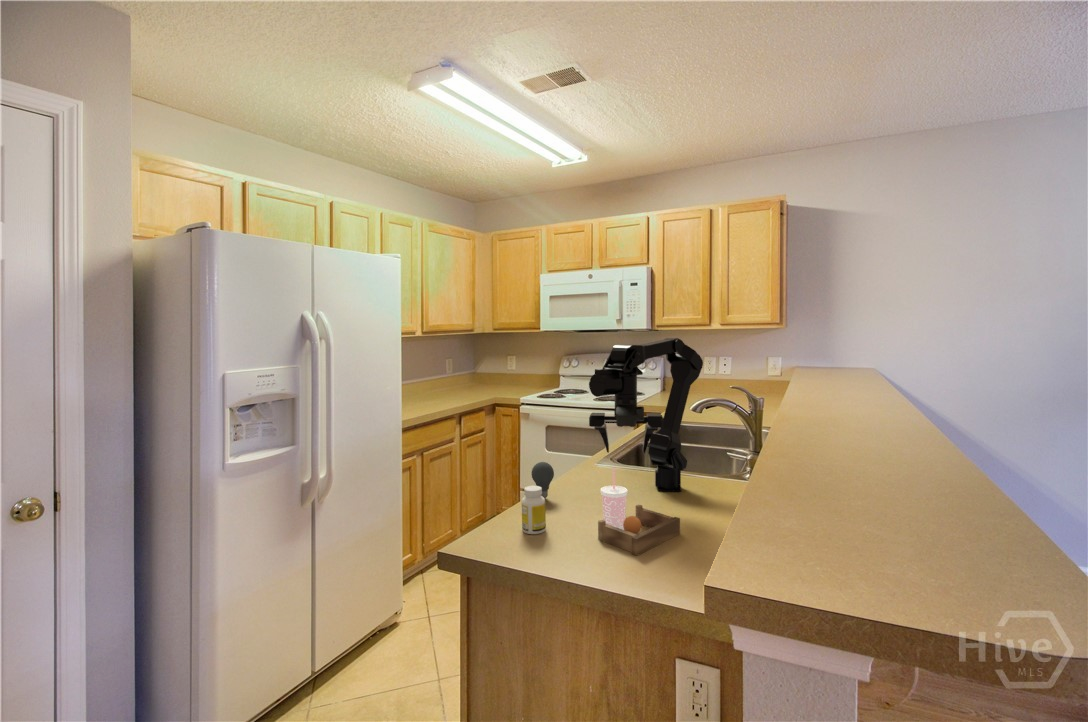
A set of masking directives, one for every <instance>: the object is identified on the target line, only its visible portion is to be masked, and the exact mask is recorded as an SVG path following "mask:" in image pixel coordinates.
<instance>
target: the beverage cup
mask: <svg viewBox="0 0 1088 722" xmlns="http://www.w3.org/2000/svg"><path fill="white" fill-rule="evenodd" d="M628 492H629V490H628V489H627V488H626V487H625V486H621V485H616V468H615V467H612V485H605V486H603V487H600V494H601V499H602V500H601V501H602V514H603V520H605V521H606V524H608V525H611V526H614V527H617V528H620V529H622V530H624V528H623V523H624V520H625V519H626V508H627V507H626V506H627V495H628Z"/></svg>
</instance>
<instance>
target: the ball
mask: <svg viewBox="0 0 1088 722" xmlns="http://www.w3.org/2000/svg"><path fill="white" fill-rule="evenodd" d="M623 528H624V530H625V531H628V532H631V533H634V534H637V535H638V534H640V533H641V530H642V525H641V522H640V520H639V519H638V518H637V517H636V516H634V515H630V516H627V517H625V520H624V523H623Z"/></svg>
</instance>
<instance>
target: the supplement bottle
mask: <svg viewBox="0 0 1088 722" xmlns="http://www.w3.org/2000/svg"><path fill="white" fill-rule="evenodd" d="M523 490H524V492H523V493H524V497H523V498H522V499H521V522H522V523H521V527H522V528H521V529H522V531H523V533H525V534H529V535H538V534H542V533H544V532H545V531H546V530H547V527H546V526H547V523H546V521H547V520H546V518H547V516H546V500H545V499H546V498H545V499H544V497H542V496H541V495H542V488H541V487H540V486H537V485H527V486H525V487H524V489H523Z"/></svg>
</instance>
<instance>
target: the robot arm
mask: <svg viewBox="0 0 1088 722" xmlns="http://www.w3.org/2000/svg"><path fill="white" fill-rule="evenodd" d="M662 356H665V359H666V361H667V362H668V363H669V364H670V371H669V372H670V374H671V378H672V383H671V388H670V391H669V395H668V398H667V399H668V400H667V402H666V407H665V411H664V415H662V413H660V412H658V413H657V412H652V413H651V412H650V413H649V412H647V413H646V416H645V407H644V406H638V376H642V375H643V374H644V372H643V371H642V370H641V369H640V368H639V367H638V366H641V365H643V364H644V363H645V362H646V360H649V359H653V358H657V357H662ZM703 366H704V361H703V358H702V357H701V356H700V353H698V352H697V351H696V350H695V349H693V348H692V347H690V346H688V344H686V343H684V341H683V340H682V339H680V338H678V337H666V338H663V339H660V340H654V341H651V342H646V343H641V344H615V345H613V346H612V348H611V350H610V353H609V355H608V358H607V359H606V361H605V362H604V365H603V367H602V368H595V369H594V374H592V375H591V377H590V379H589V382H588V388H589V391H590V394H592V395H593V396H594V397H597V398H600V397H605V396H606V397H607V396H614V411H613V412H614V415H606V414H605V413H606V412H591V413H590V415H589V417H588V418H589V419H588V422H589V423H588V427H590V428H591V427H592V428H594V430H595V431H598V432H599V434H600V436H601V438H602V440H603V443H604V446H605V450H606V452H607V453H609V452H610V444H609V443H610V442H609V437H608V430H607V424H616V426H617V427H619V428H622V427H630V428H634V427H636V426H637V425H640V424H641V425H642V424H643V425H644V424H645V425H644V434H643V435H644V436H643V443H642V453H643V454H646V451H647V454H648V456H649V458H650V459H649V460H650V462H651V465H652V466H656V469H655V470H654V486H655V488H657V491H659V492H683V490H682V487H681V486H682V485H681V484H682V483H681V482H682V479H681V478H682V471H684V470H685V469H686V468H687V466H688V465H687V464H688V460H687V458H686V457H685V455H683V453H682V452H681V451H682V443H681V439H680V435H679V433H680V428H681V425H682V422H683V421H682V420H683V416H684V413H685V409H686V405H687V401H688V397H689V394H690V389H691V386H692V385H693V383H694V382H695V381H696V380H697V379H698V378H699V377H700V374H701V372H702V368H703ZM659 428H660V429H659ZM654 432H656V433H654ZM647 447H648V450H647Z"/></svg>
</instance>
